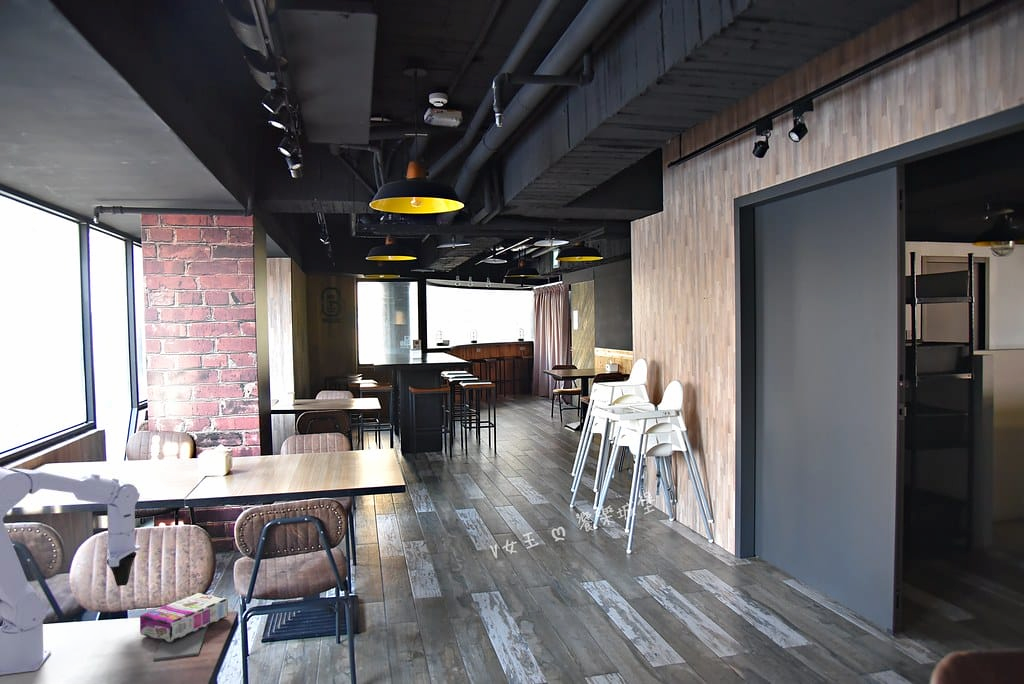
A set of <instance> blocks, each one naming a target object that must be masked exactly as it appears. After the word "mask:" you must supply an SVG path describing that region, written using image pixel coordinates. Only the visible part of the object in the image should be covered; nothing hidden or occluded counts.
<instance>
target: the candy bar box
mask: <svg viewBox="0 0 1024 684" xmlns="http://www.w3.org/2000/svg"><path fill="white" fill-rule="evenodd" d="M228 605H229V604H228V598H226V597H223V596H216V595H211V594H205V593H202V592H201V593H200V592H196V593H194V594H191V595H189V596H186V597H184V598H182V599H179V600H176V601H174V602H171V603H168V604H167V605H163V606H161V607H159V608H157V609H154V610H151V611H148V612H145V613H143V614H141V615H139V622H140V623H139V624H140V625H139V629H140V630H139V632H140V635H141V636H146V637H149V638H152V639H153V638H154V639H156V640H161V641H162V640H164V641H167V642H173V641H175V640H177V639H179V638H181V637H184V636H186V635H188V634H190V633H192V632H195V631H197V630H199V629H201V628H204V627H206V626H208V627H209V625H212V624H214V623H216V622H220V621H221V620H223V619H225V618H228V617H229V612H228V608H229V607H228ZM225 615H227V616H225Z"/></svg>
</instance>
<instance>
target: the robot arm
mask: <svg viewBox="0 0 1024 684" xmlns="http://www.w3.org/2000/svg"><path fill="white" fill-rule="evenodd" d="M119 480H120V479H117V478H112V479H108V478H103V477H101V474H97V473H92V474H91V475H84V476H81V477H80V478H77V479H76V478H71V477H67V476H64V475H63V476H62V475H59V474H54V473H49V472H44V471H39V470H34V469H28V468H27V469H25V468H11V470H10V469H8V468H7V467H4V466H2V467H1V466H0V618H1V619H3V620H2V621H3V622H2V624H1V626H0V676H2V675H10V674H12V675H13V674H19V673H28V672H35V671H38V670H39V669H40V667H41V666H42V665H43V663H45V661H46V660H47V659H48V657H49V655H50V654H51V652H52V651H51V649H50V650H44V625H43V623H44V620H45V619H46V617H47V615H48V611H49V610H48V609H49V608H48V604H47V603H46V601H44V600H43V599H41V598H40V597H39V596H38V594H37V591H36V590H35V589H34V588H33V586H32V585H31V584H30V583H29V581H28V579H27V577H26V574H25V571H24V569H23V566H22V565H21V561H20V559H19V556H18V555H17V552H16V549H15V548H14V545H13V542H12V540H11V537H10V535H9V532H8V530H7V527H6V525H5V522H4V518H5V517H6V515H7V513H9V511H11V510H12V509H13V508H14V507H15V506H16V505H17V504H19V503H20V502H21V501H22V500H23V499H24V498H25V497H26V496H27V495H28V494H31V495H34V494H35V493H37V492H38V491H40V490H51V491H57V492H64V493H69V494H71V493H73V495H74V497H75V499H77V500H78V501H83V502H90V503H96V504H102V505H107V545H108V546H107V548H108V549H107V551H106V553H107V557H108V558H107V560H106V564H107V566H108V568H110V570H111V572H112V574H113V577H114V581H115V584H116V586H117V587H121V586H127V585H128V583H129V580H130V575H131V574H130V573H131V570H132V566H133V562H134V560H135V559H136V556H137V552H138V551H140V549H142V548H141V545H137V544H136V519H135V517H136V513H135V510H136V504H137V503H138V501H139V498H140V495H141V494H140V492H138V489H137V487H136V486H135V484H131V483H128V482H124V481H122V480H121V481H119Z"/></svg>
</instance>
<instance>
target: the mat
mask: <svg viewBox="0 0 1024 684" xmlns="http://www.w3.org/2000/svg"><path fill="white" fill-rule="evenodd" d="M207 627H209V625H208V626H206V627H204V628H201V629H199V630H197V631H195V632H192V633H190V634H188V635H186V636H184V637H181V638H179V639H177V640H175V641H173V642H167V641H164V640H161V641H160V643H159V646H158V648H157V650H156V652H155V654H154V655H153V656H154V657H153V661H163V660H172V659H178V658H186V656H187V657H193V656H194V655H195V656H199V655H200V651H201V649H200V648H202V646H201V645H203V643H204V640H203V639H205V637H204V636H206V634H205V633H207V631H208V628H207ZM206 630H207V631H206Z"/></svg>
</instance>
